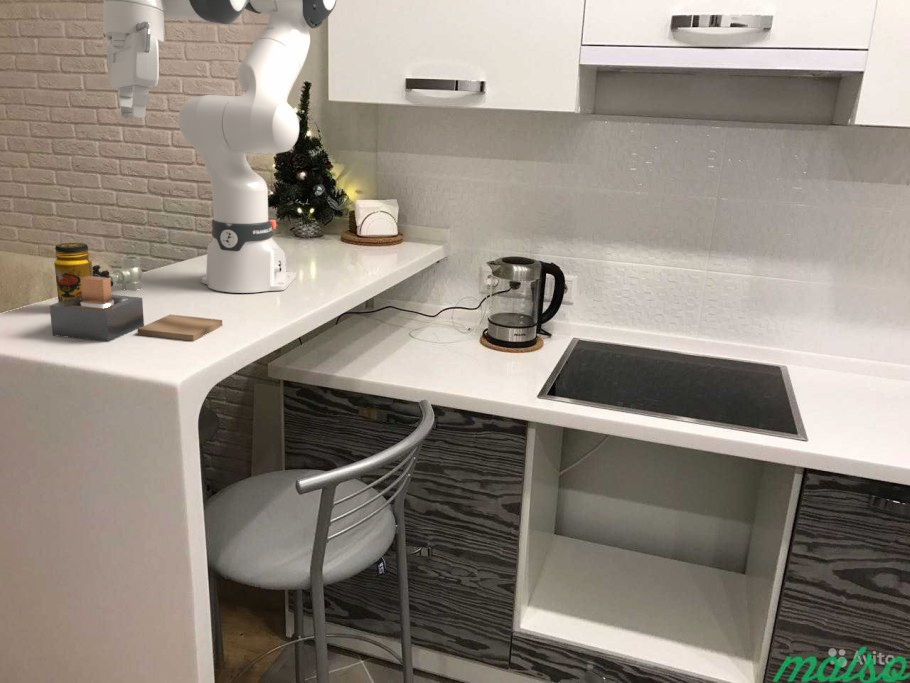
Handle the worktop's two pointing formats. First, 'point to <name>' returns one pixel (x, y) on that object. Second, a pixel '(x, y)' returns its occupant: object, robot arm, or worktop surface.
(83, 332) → the housing
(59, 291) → the condiment
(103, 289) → the plug
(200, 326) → the board
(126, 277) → the valve
